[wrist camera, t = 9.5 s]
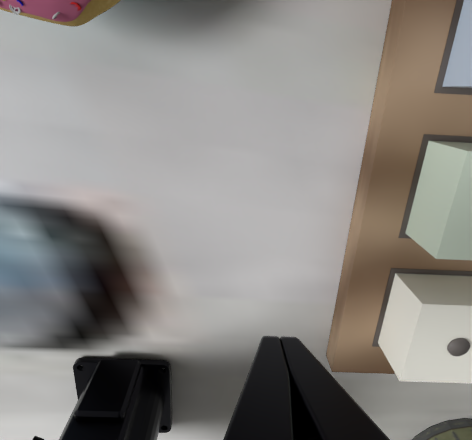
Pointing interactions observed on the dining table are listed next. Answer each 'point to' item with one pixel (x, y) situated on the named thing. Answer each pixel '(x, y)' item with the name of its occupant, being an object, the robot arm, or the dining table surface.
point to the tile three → (461, 52)
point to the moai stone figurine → (448, 431)
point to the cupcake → (59, 9)
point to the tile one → (429, 328)
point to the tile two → (444, 202)
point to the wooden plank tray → (397, 176)
